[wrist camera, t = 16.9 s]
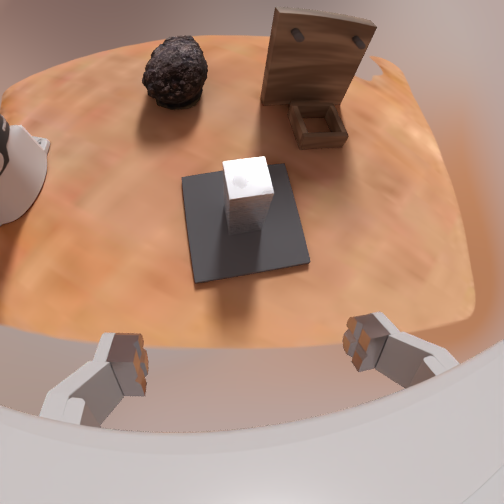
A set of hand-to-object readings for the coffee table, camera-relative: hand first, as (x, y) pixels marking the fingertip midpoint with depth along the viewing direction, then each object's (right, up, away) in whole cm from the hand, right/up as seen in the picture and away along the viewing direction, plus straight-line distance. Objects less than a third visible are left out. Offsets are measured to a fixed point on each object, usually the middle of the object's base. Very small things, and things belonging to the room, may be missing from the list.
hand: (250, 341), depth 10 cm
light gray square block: (-1, +8, +24) cm, 25 cm away
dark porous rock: (-13, +33, +31) cm, 47 cm away
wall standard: (+9, +24, +30) cm, 40 cm away
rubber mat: (-1, +7, +25) cm, 26 cm away
